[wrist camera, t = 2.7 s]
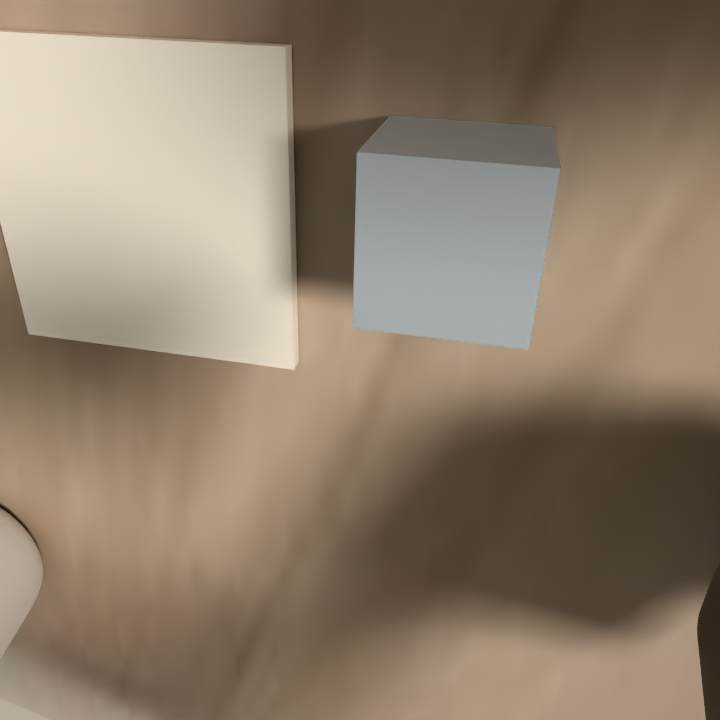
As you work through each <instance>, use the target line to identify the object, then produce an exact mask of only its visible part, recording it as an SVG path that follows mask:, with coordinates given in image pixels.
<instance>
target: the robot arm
mask: <svg viewBox="0 0 720 720" xmlns="http://www.w3.org/2000/svg"><path fill="white" fill-rule="evenodd" d="M697 636H698V646H699V656H700V666H701V676H702V686H703V696H704V706H705V716H706V720H720V564H719V565H718V566H717V568H716V570H715V572H714V575H713V577H712V580H711V583H710V585H709V588H708V591H707V593H706V596H705V599H704V602H703V604H702V607H701V610H700V613H699V617H698V625H697Z"/></svg>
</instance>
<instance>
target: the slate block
mask: <svg viewBox="0 0 720 720" xmlns="http://www.w3.org/2000/svg"><path fill="white" fill-rule="evenodd" d="M560 171H561V166H560V160H559V153H558V147H557V141H556V134H555V128H554V127H551V126H537V125H522V124H508V123H494V122H479V121H465V120H450V119H436V118H421V117H407V116H393V115H390V116H389V117H388V118H387V119H386V120H385V121H384V123H383V124H382V125H381V126H380V127H379V128H378V129H377V130H376V131H375V133H374V134H373V135H372V136H371V137H370V138H369V139H368V140H367V141H366V143H365V144H364V145H363V146H362V147H361V148H360V149H359V150H358V151H357V165H356V206H355V247H354V289H353V328H357V329H365V330H373V331H381V332H389V333H397V334H405V335H413V336H421V337H430V338H438V339H446V340H454V341H462V342H470V343H478V344H486V345H494V346H502V347H510V348H518V349H526V350H529V347H530V341H531V335H532V330H533V324H534V318H535V313H536V307H537V301H538V295H539V290H540V284H541V278H542V273H543V267H544V261H545V256H546V250H547V244H548V239H549V233H550V227H551V222H552V216H553V210H554V205H555V199H556V193H557V188H558V182H559V176H560Z"/></svg>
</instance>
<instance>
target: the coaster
mask: <svg viewBox="0 0 720 720" xmlns="http://www.w3.org/2000/svg"><path fill="white" fill-rule="evenodd" d="M0 223H1V227H2V231H3V235H4V239H5V243H6V247H7V251H8V255H9V259H10V263H11V267H12V271H13V275H14V279H15V282H16V286H17V290H18V294H19V298H20V302H21V306H22V310H23V314H24V318H25V322H26V326H27V330H28V334H30V335H38V336H45V337H53V338H60V339H68V340H75V341H83V342H90V343H98V344H105V345H113V346H120V347H128V348H135V349H143V350H150V351H158V352H165V353H173V354H180V355H188V356H195V357H203V358H210V359H218V360H225V361H233V362H240V363H248V364H255V365H263V366H270V367H278V368H285V369H293V370H294V369H295V367H296V366H297V364H298V362H299V348H298V305H297V261H296V218H295V175H294V131H293V88H292V45H290V44H271V43H252V42H233V41H215V40H196V39H177V38H158V37H139V36H121V35H102V34H83V33H64V32H45V31H27V30H8V29H0Z"/></svg>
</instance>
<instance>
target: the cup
mask: <svg viewBox="0 0 720 720" xmlns="http://www.w3.org/2000/svg"><path fill="white" fill-rule="evenodd" d="M42 580H43V563H42V558H41V555H40V552H39V550H38V548H37V545H36V544H35V542H34V540H33V539H32V537H31V536H30V534H29V533H28V532H27V531H26V530H25V528H24V527H23V526H22V525H21V524H20V523H19V522H18V521H17V520H16V519H15V518H13V517H12V516H11V515H10V514H9V513H7V512H6V511H4V510H3V509H2V508H0V659H1V658H2V656H3V654H4V653H5V651H6V649H7V648H8V646H9V645H10V643H11V641H12V640H13V638H14V636H15V635H16V633H17V631H18V630H19V628H20V627H21V625H22V623H23V622H24V620H25V618H26V617H27V615H28V613H29V611H30V610H31V608H32V606H33V604H34V602H35V600H36V598H37V596H38V593H39V591H40V588H41V584H42Z"/></svg>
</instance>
